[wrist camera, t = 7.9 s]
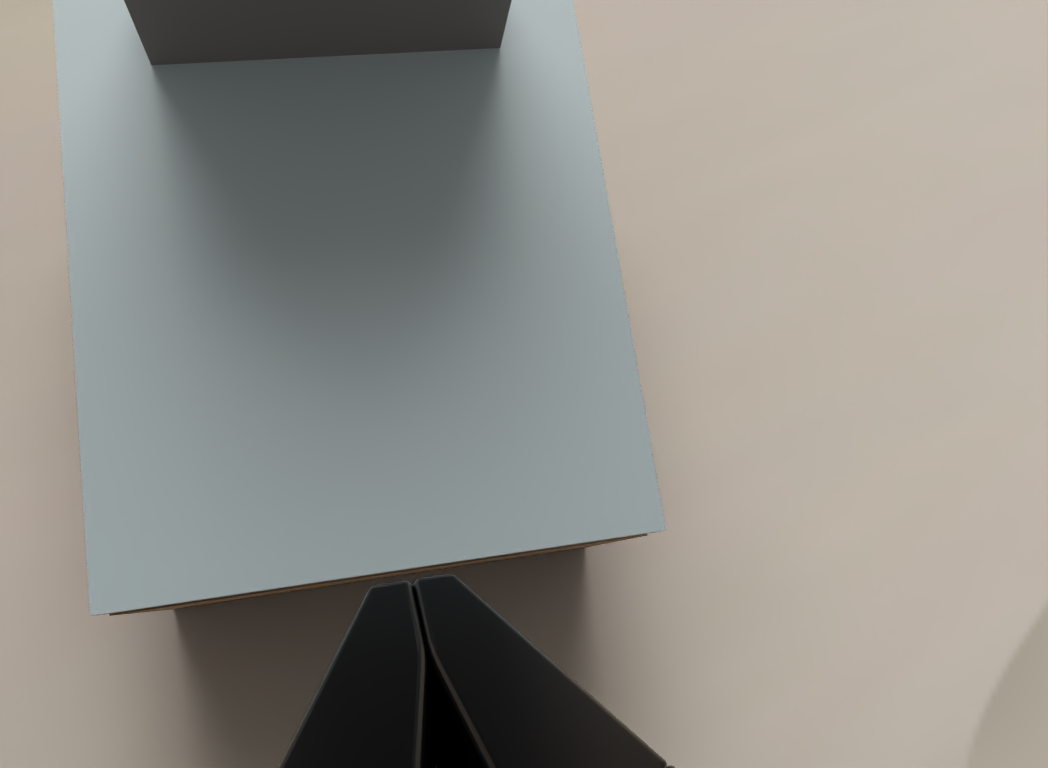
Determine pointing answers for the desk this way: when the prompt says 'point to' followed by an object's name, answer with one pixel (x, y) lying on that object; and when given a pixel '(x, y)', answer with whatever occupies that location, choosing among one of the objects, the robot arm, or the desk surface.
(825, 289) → the desk surface
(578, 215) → the lid
